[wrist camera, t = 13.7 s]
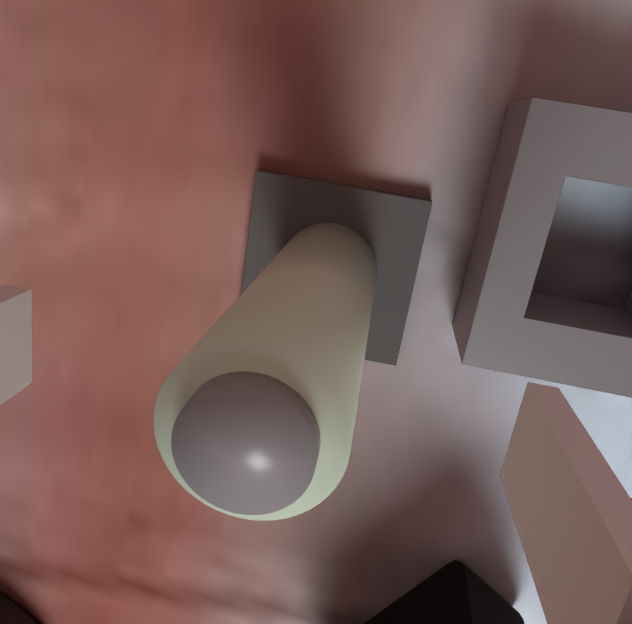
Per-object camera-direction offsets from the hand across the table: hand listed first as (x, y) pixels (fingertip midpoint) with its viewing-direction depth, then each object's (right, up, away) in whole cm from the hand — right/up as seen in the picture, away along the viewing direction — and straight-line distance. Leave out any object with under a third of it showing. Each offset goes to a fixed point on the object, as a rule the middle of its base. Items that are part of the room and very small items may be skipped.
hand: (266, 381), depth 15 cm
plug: (+2, +3, +9) cm, 9 cm away
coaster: (+2, +4, +9) cm, 10 cm away
